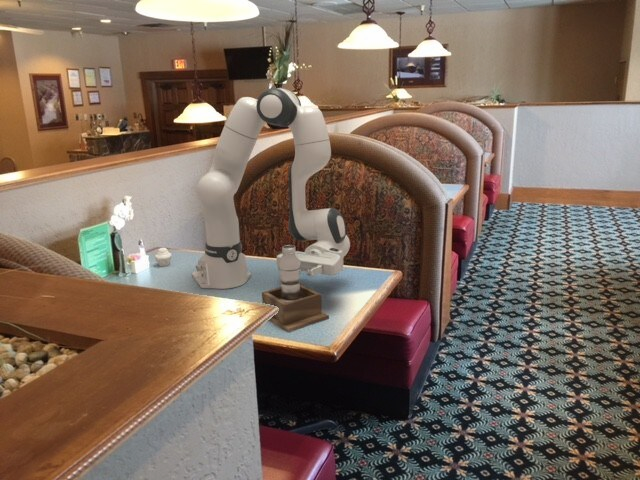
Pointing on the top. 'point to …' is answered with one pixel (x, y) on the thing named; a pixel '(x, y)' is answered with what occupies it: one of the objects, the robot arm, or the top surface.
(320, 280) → the top surface
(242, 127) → the robot arm
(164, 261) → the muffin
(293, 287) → the plastic bottle
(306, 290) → the bottle caddy
